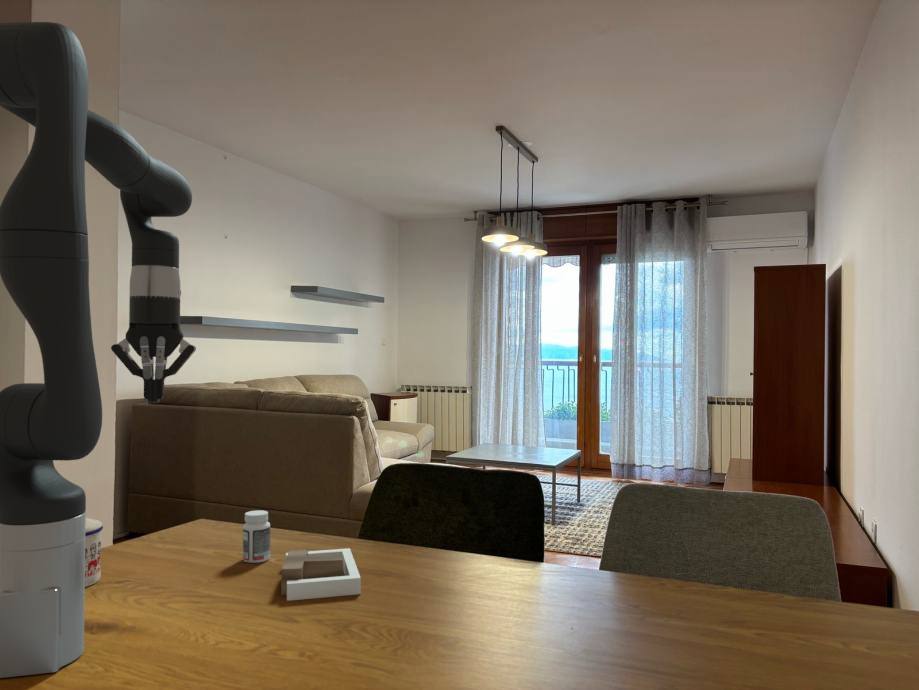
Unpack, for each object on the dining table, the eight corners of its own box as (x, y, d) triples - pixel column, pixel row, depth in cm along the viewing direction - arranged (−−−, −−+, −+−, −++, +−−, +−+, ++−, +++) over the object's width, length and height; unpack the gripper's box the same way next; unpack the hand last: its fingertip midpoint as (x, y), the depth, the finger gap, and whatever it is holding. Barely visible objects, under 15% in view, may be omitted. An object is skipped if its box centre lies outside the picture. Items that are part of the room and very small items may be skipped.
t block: (341, 592, 103) (341, 567, 103) (281, 595, 102) (281, 569, 102) (343, 571, 113) (344, 548, 113) (289, 573, 112) (289, 550, 112)
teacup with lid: (79, 594, 102) (80, 517, 102) (22, 592, 102) (23, 516, 103) (123, 568, 114) (124, 500, 114) (73, 567, 114) (73, 499, 115)
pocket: (360, 594, 102) (360, 577, 102) (286, 600, 100) (287, 584, 100) (349, 562, 118) (349, 548, 118) (285, 567, 115) (285, 552, 115)
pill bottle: (274, 555, 122) (274, 510, 122) (264, 564, 117) (264, 516, 117) (249, 554, 122) (249, 509, 122) (238, 563, 117) (238, 515, 117)
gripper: (104, 292, 103) (103, 404, 102) (195, 295, 106) (194, 403, 106) (115, 296, 110) (114, 401, 110) (201, 298, 113) (200, 400, 113)
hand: (154, 402), depth 108 cm, fingers closed
